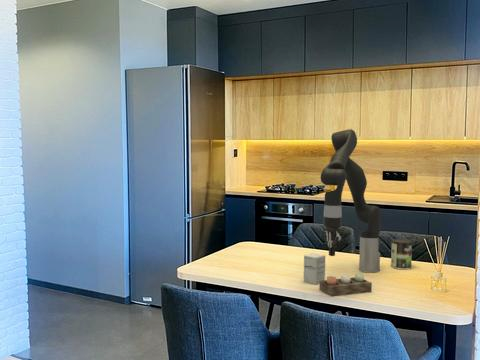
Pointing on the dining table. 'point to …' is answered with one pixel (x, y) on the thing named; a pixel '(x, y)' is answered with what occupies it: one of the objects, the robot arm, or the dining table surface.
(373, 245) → the robot arm
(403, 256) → the coffee can
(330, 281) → the terracotta button
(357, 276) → the sage button
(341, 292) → the frame
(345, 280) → the cream pill shape
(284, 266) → the dining table surface
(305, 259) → the supplement box
